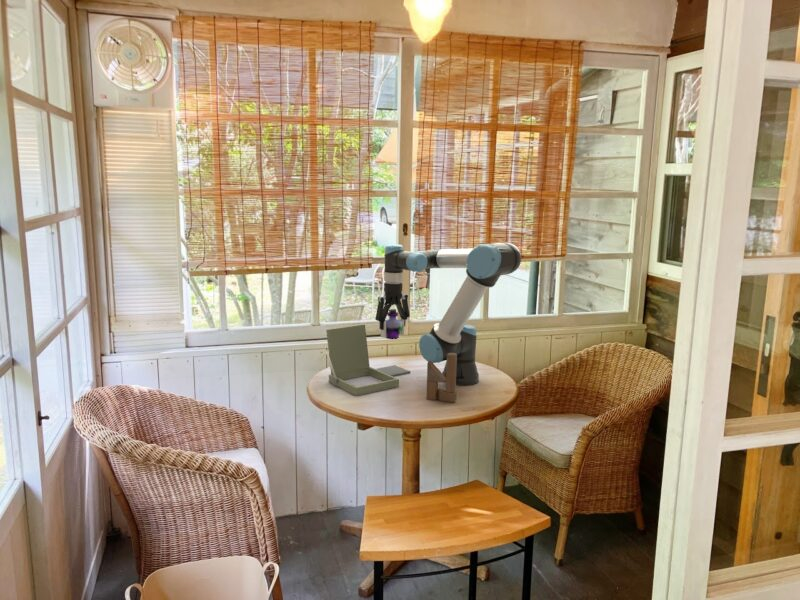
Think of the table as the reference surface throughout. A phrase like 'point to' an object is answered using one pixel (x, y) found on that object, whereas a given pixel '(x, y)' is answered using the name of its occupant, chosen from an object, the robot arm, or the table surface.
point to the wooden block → (442, 380)
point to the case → (353, 361)
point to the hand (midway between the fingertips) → (392, 335)
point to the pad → (394, 370)
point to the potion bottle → (393, 325)
